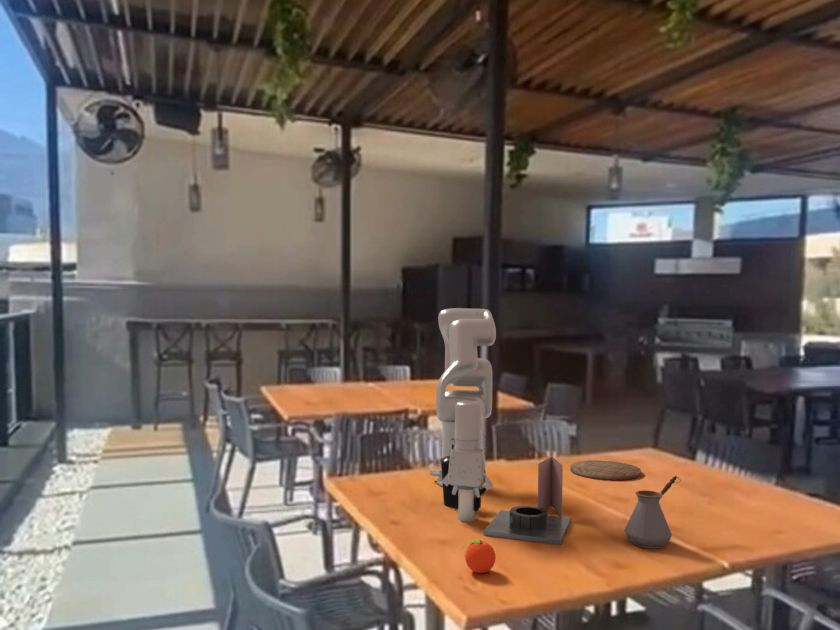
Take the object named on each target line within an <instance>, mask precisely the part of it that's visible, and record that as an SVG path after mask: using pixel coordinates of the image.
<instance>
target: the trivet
mask: <svg viewBox="0 0 840 630" xmlns="http://www.w3.org/2000/svg"><path fill="white" fill-rule="evenodd" d="M570 472H571V473H572V474H573V475H576V476H578V477H582V478H585V479H591V480H597V481H607V480H611V482H615V481H616V482H622V481H632V480H631V479H633V480H637V479H639V478H641V476H642V470H641V468H639V467H638V466H636V465H633V464H629V463H626V462H619V461H611V460H598V459H596V460H581V461H576V462H573V463H571V464H570ZM638 477H639V478H638ZM636 478H637V479H636Z"/></svg>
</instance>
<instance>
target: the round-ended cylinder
mask: <svg viewBox="0 0 840 630" xmlns="http://www.w3.org/2000/svg"><path fill="white" fill-rule="evenodd" d="M475 495H476V494H475V490H474V487H466V486H458V509H457V520H458V521H459V522H465V523H466V522H468V523H469V522H475V520H476V519H477V518H476V513H477V512H475V511H474V497H475Z"/></svg>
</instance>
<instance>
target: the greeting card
mask: <svg viewBox="0 0 840 630" xmlns="http://www.w3.org/2000/svg"><path fill="white" fill-rule="evenodd" d="M537 465H538V467H537V468H538V469H537V471H538V472H537V473H538V474H537V475H538V477H537V507H539V508H543V509H545V510H546V511H547V509H549V508H550V507H551V508H552V507H553V508H554V509H555V510H554V509H553V508H552V509H553V510H554V511H555V512H556V513H557V514H558V516H559V517H563V478H564V477H563V475H564V474H563V471H564V468H563V464H562V463H561V462H560V461H558V460H557V459H556V458H554V456H550V457H548V458H547V459H544V460H543V461H541V462H538V464H537Z"/></svg>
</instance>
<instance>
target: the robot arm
mask: <svg viewBox="0 0 840 630" xmlns="http://www.w3.org/2000/svg"><path fill="white" fill-rule="evenodd" d="M438 313H439V314H438V317H437V318H438V319H437V320H438V321H437V322H438V328H439V331H440V333H441V335H442V339H443V341H444V371H443V373H442V374H441V376H440V377H439V380H438V381H437V385H436V390H435V407H436V409H435V411H436V416H437V418H438V420H439V421H440V422H441V429H442V431H441V435H442V436H441V438H442V440H441V458H443V457H445V456H449V455H450V461H449V471H448V474H447V475H446V476H445V478H444V479H443V480H442V470H441V468H439V469H435V468H430V471H429V472H430V475H431V476H432V477H438V478H437V479H436V484H437V485H438V486H441V487H443V484H442V482H443V483H444V484H445V485H446V486H447V487H448V489H449V490H450V491H451V492H452V494H453V505H455V507H454V510H458V486H466V487H474V490H475V494H476V495H475V497H474V511H475V512H476V513H477V512H478V510H480V508H481V507H482V495H483V494H485V493H486V492H487V491H489V490H490V489H491V488H493V486H494V484H493V483H492V480H490V478H489V476H488V475H487V470H486V459H485V454H484V453H485V452H484V449H482V421H483V419H488V418H490V416H491V415H492V410H493V378H494V377H493V368H492V364H491V362H490V361H489V360H488V359H486V358H481V357H478V347H479V346H481V347H490V346H493V345H494V344H495V341H496V338H497V328H496V324H495V320H494V318H493V315H492V312H491V310H490V309H486V308H465V307H464V308H463V307H455V308H445V309H442V310H440V312H438ZM447 386H450V387H464V388H465V387H468V388H469V387H471V388H472V387H476V388H478V390H476V389H475V390H471V389H470V390H469V389H468V390H467V389H452V390H447V388H448V387H447ZM446 390H447V391H446ZM452 438H453V440H452ZM452 445H454V448H453V449H452ZM484 484H485V485H484ZM482 486H483V487H482Z"/></svg>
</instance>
